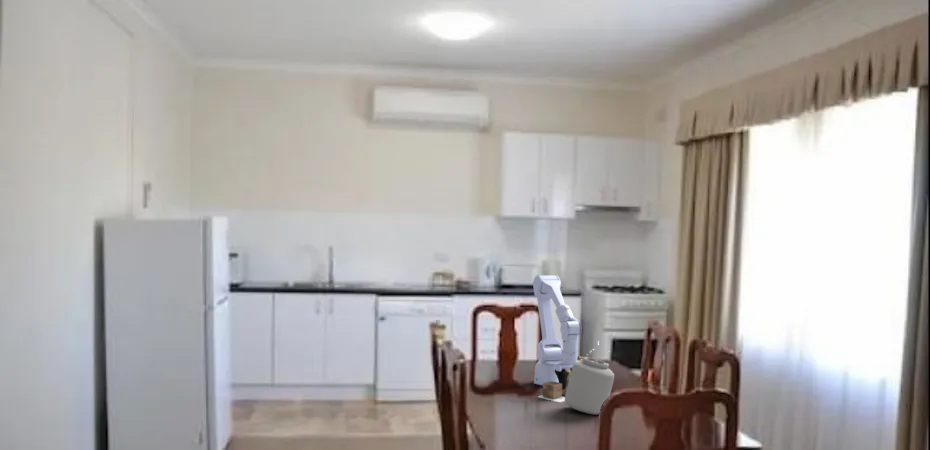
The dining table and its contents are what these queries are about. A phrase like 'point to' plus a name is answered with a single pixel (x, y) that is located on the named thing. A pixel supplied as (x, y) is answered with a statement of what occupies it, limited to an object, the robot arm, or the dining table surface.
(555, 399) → the white flat plate
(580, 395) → the jar
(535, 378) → the robot arm
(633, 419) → the dining table surface
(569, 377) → the maple block
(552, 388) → the walnut block
